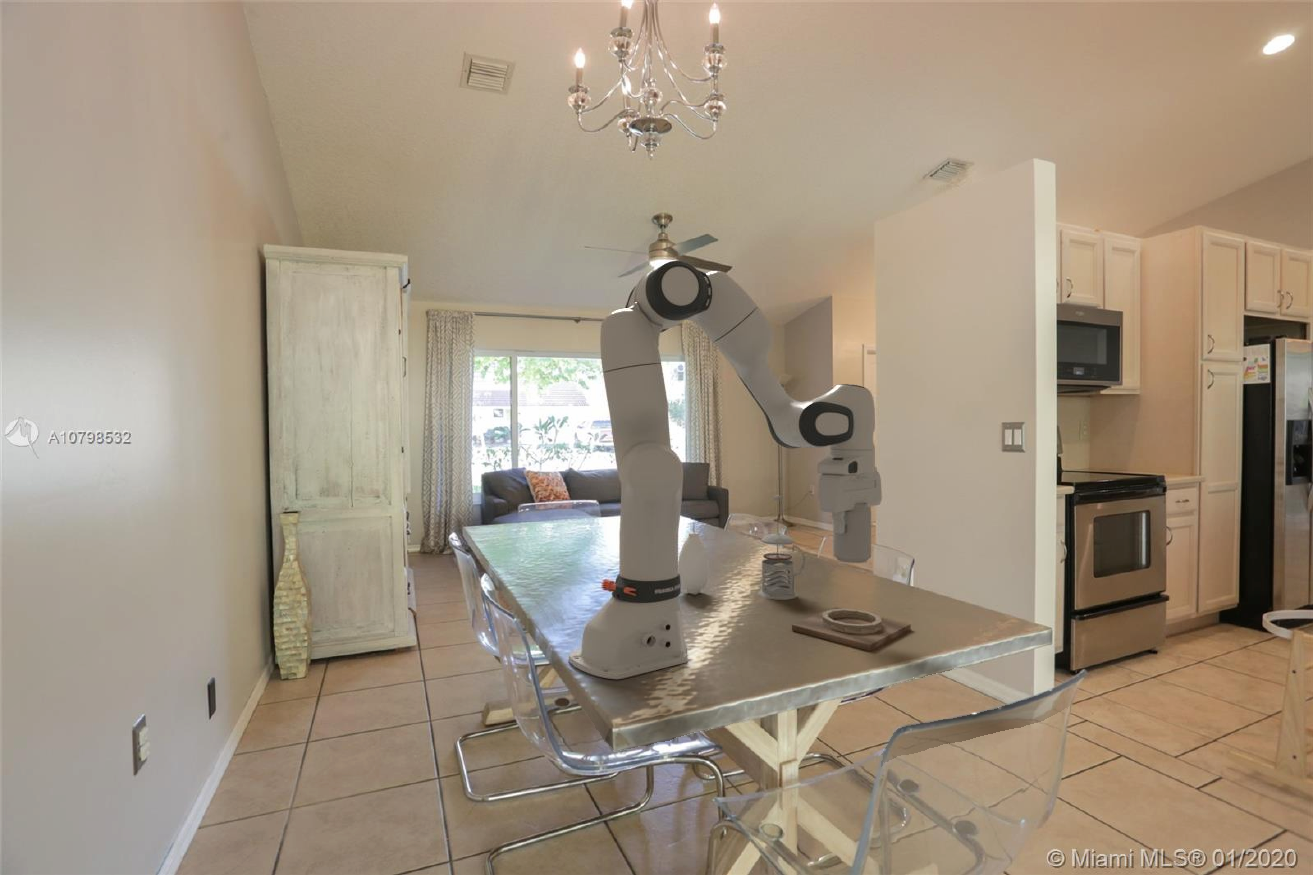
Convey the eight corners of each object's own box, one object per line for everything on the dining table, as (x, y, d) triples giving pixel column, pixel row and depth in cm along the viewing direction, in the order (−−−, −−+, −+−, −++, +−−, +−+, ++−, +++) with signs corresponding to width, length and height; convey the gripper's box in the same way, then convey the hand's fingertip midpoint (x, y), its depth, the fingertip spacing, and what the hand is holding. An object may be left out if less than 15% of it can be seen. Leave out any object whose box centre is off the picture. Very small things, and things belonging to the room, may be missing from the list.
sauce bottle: (676, 589, 161) (676, 520, 160) (705, 589, 161) (706, 519, 161) (680, 598, 153) (680, 524, 153) (711, 597, 154) (712, 524, 153)
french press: (757, 588, 162) (757, 492, 162) (802, 590, 160) (803, 493, 160) (758, 598, 152) (758, 496, 152) (806, 600, 151) (807, 497, 150)
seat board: (869, 651, 116) (870, 637, 116) (791, 630, 128) (792, 617, 128) (910, 629, 129) (910, 616, 129) (836, 612, 141) (836, 600, 141)
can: (865, 556, 132) (865, 500, 132) (875, 564, 124) (875, 504, 124) (829, 556, 132) (829, 499, 132) (837, 563, 125) (837, 504, 125)
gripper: (862, 461, 138) (861, 523, 138) (812, 464, 123) (812, 534, 124) (889, 462, 133) (889, 526, 133) (841, 466, 119) (841, 538, 119)
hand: (851, 530), depth 128 cm, fingers closed on can, 7 cm apart
